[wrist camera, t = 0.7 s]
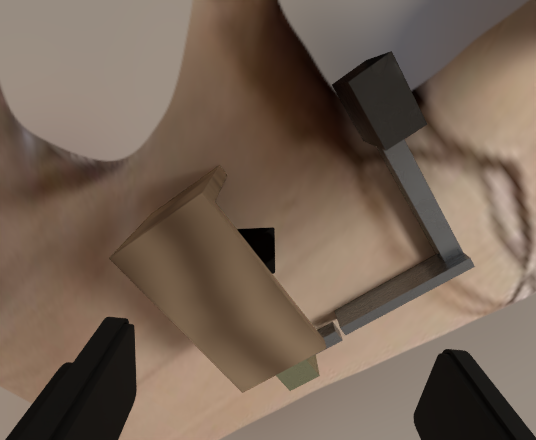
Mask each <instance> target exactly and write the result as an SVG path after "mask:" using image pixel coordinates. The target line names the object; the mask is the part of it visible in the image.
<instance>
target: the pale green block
mask: <svg viewBox="0 0 536 440" xmlns="http://www.w3.org/2000/svg"><path fill="white" fill-rule="evenodd" d="M318 332H319V334H320V335H321V336H322V337H323V339H324V340H325V344H326V349H327V348H329V347H331V346H333V345H335V344H337V343H339V342H340V341H342V337H341V334H340V331H339V330H338V328H337V327H336V326H335V324H334V323H333V322H332V323H330V324H329V325H327V326H325V327H323V328H321V329H319V330H318ZM324 350H325V349H324ZM322 351H323V350H322ZM319 353H320V352H319ZM317 354H318V353H317ZM276 376H277V377H278V378H279V379H280V381H281V382H282V383H283V384H284V385H285V386H286V387H287V388H288V389H289V390H290V391H291V390H293V389H295V388H297V387H299V386H301V385H303V384H305V383H307V382H309V381H311V380H313V379H314V378H316V377H318V376H320V375H319V370H318V365H317V360H316V354H315V355H313V356H311V357H309V358H307V359H306V360H304V361H302V362H300V363H298V364H296V365H294V366H292V367H290V368H289V369H287V370H285V371H283V372H281V373H279V374H277V375H276Z"/></svg>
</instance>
